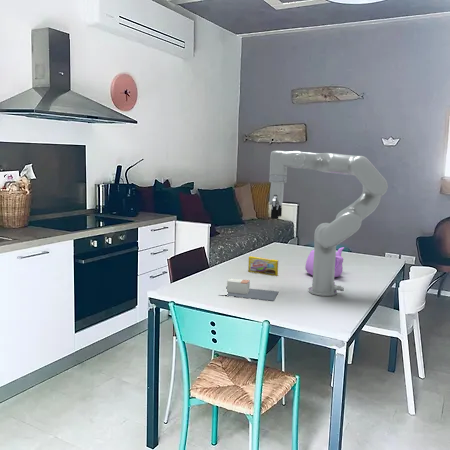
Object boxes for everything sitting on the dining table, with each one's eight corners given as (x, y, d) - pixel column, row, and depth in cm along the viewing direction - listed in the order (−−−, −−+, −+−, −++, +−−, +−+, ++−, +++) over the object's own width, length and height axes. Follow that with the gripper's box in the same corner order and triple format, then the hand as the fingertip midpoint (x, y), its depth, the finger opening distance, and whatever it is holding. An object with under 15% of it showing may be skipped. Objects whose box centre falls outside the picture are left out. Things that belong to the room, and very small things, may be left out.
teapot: (329, 283, 226) (331, 253, 224) (300, 273, 243) (301, 245, 241) (360, 277, 238) (363, 249, 236) (330, 269, 256) (332, 242, 253)
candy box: (247, 271, 244) (248, 256, 243) (249, 271, 246) (250, 255, 245) (276, 276, 236) (277, 260, 235) (278, 275, 238) (278, 259, 237)
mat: (278, 292, 207) (278, 291, 207) (273, 301, 194) (273, 300, 194) (226, 287, 213) (226, 286, 213) (218, 295, 200) (218, 294, 200)
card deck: (229, 289, 208) (230, 278, 208) (249, 291, 206) (249, 280, 205) (226, 292, 203) (227, 281, 203) (246, 294, 201) (247, 283, 200)
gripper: (272, 178, 213) (271, 215, 215) (266, 179, 196) (264, 219, 199) (288, 178, 211) (287, 215, 213) (283, 180, 194) (281, 220, 197)
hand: (276, 217), depth 206 cm, fingers open, 9 cm apart
